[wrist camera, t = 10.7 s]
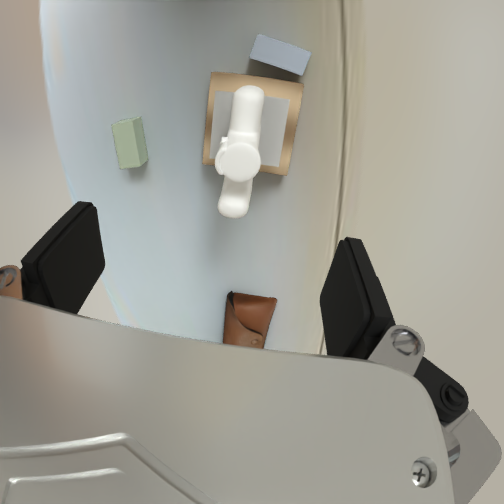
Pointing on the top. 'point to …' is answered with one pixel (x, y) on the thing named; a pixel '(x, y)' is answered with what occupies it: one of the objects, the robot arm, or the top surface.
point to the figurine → (245, 142)
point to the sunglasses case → (247, 319)
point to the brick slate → (280, 54)
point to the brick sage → (130, 143)
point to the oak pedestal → (270, 88)
